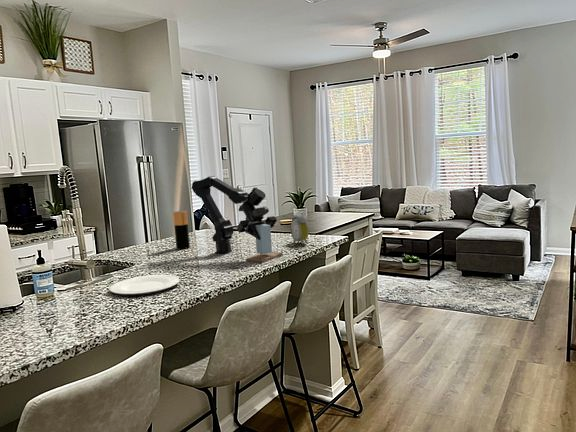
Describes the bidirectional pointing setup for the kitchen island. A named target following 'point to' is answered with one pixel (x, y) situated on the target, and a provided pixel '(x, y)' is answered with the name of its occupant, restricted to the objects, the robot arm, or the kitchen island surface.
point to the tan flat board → (264, 257)
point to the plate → (144, 284)
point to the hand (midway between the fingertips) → (265, 238)
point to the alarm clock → (299, 228)
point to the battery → (181, 229)
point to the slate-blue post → (263, 239)
